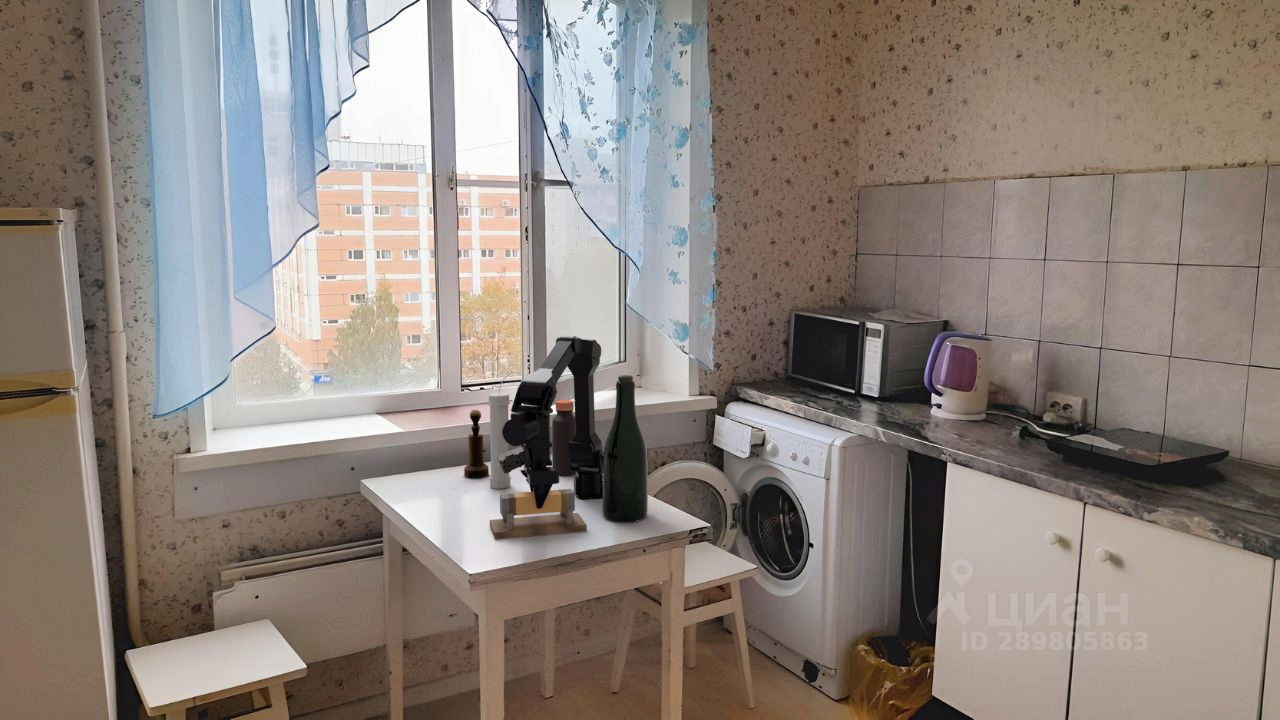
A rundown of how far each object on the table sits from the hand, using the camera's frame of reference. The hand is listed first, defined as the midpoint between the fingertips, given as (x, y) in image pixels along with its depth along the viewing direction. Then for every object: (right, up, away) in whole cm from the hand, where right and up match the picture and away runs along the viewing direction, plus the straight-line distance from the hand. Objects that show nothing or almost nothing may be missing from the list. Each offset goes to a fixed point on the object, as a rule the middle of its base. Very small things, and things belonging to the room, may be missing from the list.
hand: (537, 505), depth 195 cm
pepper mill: (-22, +1, +45) cm, 50 cm away
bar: (0, -1, 0) cm, 1 cm away
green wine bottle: (+19, -4, +10) cm, 22 cm away
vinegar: (+2, +1, +48) cm, 48 cm away
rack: (0, -5, +1) cm, 5 cm away
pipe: (-13, -1, +34) cm, 37 cm away
